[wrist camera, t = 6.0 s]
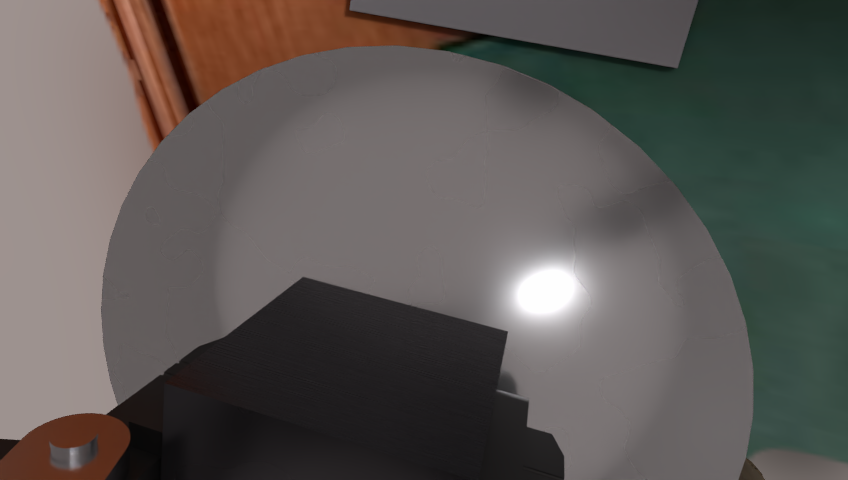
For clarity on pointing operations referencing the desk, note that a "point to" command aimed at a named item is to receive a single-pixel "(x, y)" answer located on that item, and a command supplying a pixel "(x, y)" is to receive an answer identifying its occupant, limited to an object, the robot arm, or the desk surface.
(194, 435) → the lid
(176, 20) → the desk surface
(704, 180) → the desk surface
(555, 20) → the mat
